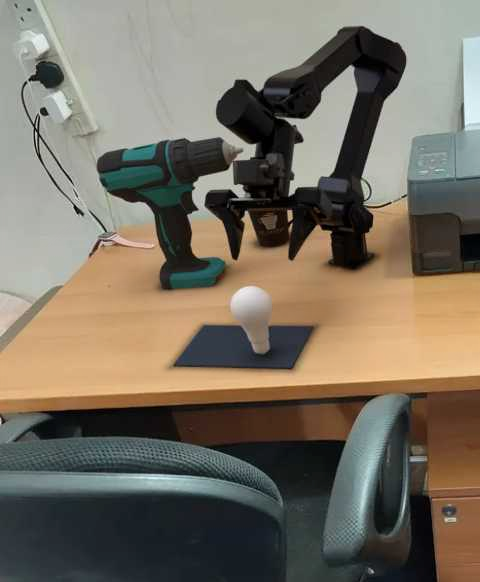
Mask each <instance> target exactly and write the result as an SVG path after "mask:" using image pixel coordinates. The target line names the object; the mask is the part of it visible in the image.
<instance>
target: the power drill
mask: <svg viewBox="0 0 480 582" xmlns="http://www.w3.org/2000/svg"><path fill="white" fill-rule="evenodd" d="M242 153H244V148H243V147H236V146H235V145H232V144H230V143H229V142H227V141H226V140H225V139H223V138H222V137H221V136H217V137H211V138H206V139H199V140H194V141H191V140H189V139H187V138H186V137H183V138H177V139H173V140H170V139H165V140H161V141H158V142H155V143H150V144H149V143H148V144H145V145H140V146H135V147H132V148H127V147H125V148H120V149H116V150H110V151H106V152H105V153H103V154H102V155H101V156H99V157H98V159H97V161H96V172H97V173H98V176H99V182H100V184H101V186H102V188H104V189H105V190H106V192H107V193H108V194H109V195H111V196H114V197H116V198H118V199H121V200H123V201H125V202H127V203H131V204H136V203H143V204H146V206H148V207H149V209H150V210H151V213H152V214H153V218H154V225H155V232H156V238H157V241H158V246H159V247H160V249H161V251H162V253H163V256H164V259H165V261H164V262H163V263H162V265H161V267H160V270H159V274H158V275H159V276H158V277H159V278H158V280H159V282H160V285H161V289H163V290H169V291H170V290H173V289H175V290H176V289H191V288H205V287H206V288H207V287H212V286H214V285H215V283H216V277H218V276H219V275H221V274H222V273H223V272H224V270H225V268H226V261H225V260H223V259H222V258H221V257H218V256H211V257H210V256H208V257H197V256H196V255H195V253H194V252H193V248H192V246H191V244H192V239H193V230H192V225H191V221H190V219H189V215H192V214H193V213H194V212H198V211H199V208H198V206H197V205H196V203H195V202H194V200H193V191H195V189H196V186H194V183H196V182H198V180H199V179H200V177H205V176H209V175H215V174H219V173H223V172H226V171H229V169H230V167H231V166H232V165H233V161H235V159H236V158H237V157H238V155H239V154H242Z"/></svg>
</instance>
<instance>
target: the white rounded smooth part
mask: <svg viewBox="0 0 480 582" xmlns="http://www.w3.org/2000/svg"><path fill="white" fill-rule="evenodd" d="M229 308H230V312H231V313H230V314H231V316H232V318H233V319H234V321H235V322H236V323H237V324H238V326H241V327H242V328H243V329H244V330H245V332H246V334H247V336H248V339H249V341H250V342H251V344H252V347H253V350H254V352H255V353H257V354H265V353H266V352H267V351H269V349H270V345H269V340H268V338H269V332H268V326H270V325H269V324H270V320H271V317H272V315H273V302H272V298H271V297H270V295H269V294H268V293H267V292H266V291H265V290H263V289H262V288H260V287H258V286H255V285H247V286H244V287H241V288H239V289H238V290H237V291H236V292H234V294H233V296H232V297H231V300H230V306H229Z"/></svg>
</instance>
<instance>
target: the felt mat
mask: <svg viewBox="0 0 480 582" xmlns="http://www.w3.org/2000/svg"><path fill="white" fill-rule="evenodd" d="M313 330H314V326H313V325H268V332H269V338H268V340H269V345H270V349H269V351H267V352H266V353H265V354H257V353H255V352H254V350H253V347H252V344H251V342H250V341H249V339H248V336H247V334H246V332H245V330H244V329H243V328H242V327H241V326H240V325H237V324H236V325H232V324H231V325H230V324H227V325H223V324H218V325H217V324H215V325H214V324H206V325H205V324H204V325H202V327H201V328H199V330H198V331H197V333H196V334H195V336H193V339H191V341H190V342H189V343H188V345H186V347H185V349H184V350H183V351H182V353H181V354H179V356H178V358H177V359H176V360H175V362H174V363H173V367H192V368H228V369H229V368H232V369H268V370H269V369H272V370H273V369H274V370H275V369H276V370H293V368H294V366H295V364H296V362H297V361H298V359H299V357H300V355H301V353H302V351H303V349H304V347H305V345H306V343H307V342H308V339H309V338H310V336H311V333H312V331H313Z"/></svg>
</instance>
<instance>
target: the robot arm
mask: <svg viewBox="0 0 480 582" xmlns="http://www.w3.org/2000/svg"><path fill="white" fill-rule="evenodd" d="M350 66H351V67H352V68H353V77H354V82H355V85H356V89H357V90H356V95H355V98H354V101H353V105H352V108H351V111H350V115H349V118H348V122H347V125H346V128H345V132H344V136H343V139H342V143H341V147H340V149H339V153H338V156H337V160H336V163H335V165H334V166H335V167H334V169H333V171H332V172H331V173H330V175H329V176H323V175H321V176H320V177H319V178H318V181H317V185H316V186H299V187H296V189H294V193H295V194H294V193H293V194H294V196H290V188H291V181H295V176H296V175H295V172H294V171H293V159H294V152H295V145H298V144H303V143H304V141H305V139H304V137H303V135H302V133H301V132H300V131H299V129H298V127H297V125H296V124H291V123H290V122H289V121H288V120H286V119H290V120H291V119H294V120H296V119H297V120H306V119H308V118H310V117H311V116H312V114H313V113H314V112H315V110H316V109H317V107H318V106H319V105H320V104H321V102H322V94H323V92H324V91H325V89H326V88H327V87H328V86H329V85H331V83H333V82H334V81H335V80H336V79H337V78H338V77H339V76H340V75H341V74H342V73H344V72H345V71H346V70H347V69H348V68H349V67H350ZM406 67H407V54H406V51H405V50H404V49H403V47H402V45H401V44H400V43H399V42H398V41H397V42H396V41H393V40H391V39H389V38H387V37H384V36H382V35H380V34H377V33H375V32H374V31H372V30H371V29H370V28H368V27H366V26H364V25H349V26H342V27H341V28H339V29H338V30H337V32H336V35H334V36H333V37H332V38H331V39H330V40H328V41H327V42H326V43H325V44H324V45H322V46H321V47H320V48H319V49H317V51H316V52H314V53H313V54H312V55H311V56H309V58H307V59H306V60H305V61H303V62H302V63H301V64H299V65H298V66H295V67H291V68H288V69H284V70H281V71H279V72H277V73H275V74H273V75H271V76H269V77H268V78H267V79H266V80H265V82H264V84H263V86H262V88H261V89H259V90H257V89H256V88H255V87H254V85H253V84H252V83H251V82H250V81H249V80H248V79H245V78H244V79H243V78H241V79H240V78H239V79H238V78H236V79H235V80H234V83H233V86H232V87H230V88H229V89H227V90H226V91H225V92H224V93H223V94H222V96H221V98H220V99H219V100H218V101H217V103H216V107H215V117H216V119H217V122H218V123H219V124H221V125H222V126H223V127H224V128H226V129H227V130H228V131H230V132H231V133H232V134H233V135H235V136H236V137H238V139H240V140H242V142H243V143H245V144H247V145H255V151H254V156H250V158H249V159H237V160H235V159H234V160H233V162H232V178H233V186H238V185H239V186H240V185H241V186H242V190H243V192H244V193H245V192H246V193H250V197H249V198H243V197H239V196H238V195H237V194H236V193H235V192H234V191H233V190H232V189H231V188H227V189H225V188H224V189H210V190H209V191H208V192H207V193H206V194H205V197H204V198H205V199H204V205H203V207H204V208H205V209H207V210H208V211H209V212H210V213H212V215H214V216H215V217H216V218H217V219H219V220H220V221H221V222H222V224H223V227H224V230H225V233H226V238H227V242H228V247H229V251H230V256H231V259H232V260H234V261H238V260H239V257H240V253H241V249H242V243H243V238H244V232H245V227H246V223H245V221H244V220H243V218H244V217H245V215H246V212H248V211H276V210H287V211H291V216H292V219H293V223H292V224H291V231H290V235H289V241H288V242H289V243H288V252H287V258H288V260H289V261H291V262H292V261H294V260H295V258H296V257H297V255H298V254H299V252H300V251H301V249H302V247H303V246H304V243H305V242H306V241H307V239H308V238H309V237H310V236H311V234H312V233H313V231H314V230H315V229H316V227H317V226H319V228H320V229H321V231H324V232H325V231H327V232H331V233H329V234H330V248H331V254H332V258H331V259H329V260H328V261H327V264H328V265H331V266H336V267H340V268H344V269H349V270H357V269H358V268H359V267H362V265H364V264H365V263H367V262H368V261H369V260H371V259H372V258H374V257H375V253H374V252H370V251H368V245H367V238H366V237H367V236H366V234H369V233H370V232H371V231H370V229H372V228H373V227H374V217H375V216H374V214H373V212H371V211H370V210H368V209H367V208H366V207H365V206H364V203H365V194H364V190H363V185H362V178H363V174H364V171H365V167H366V164H367V161H368V158H369V155H370V150H371V147H372V143H373V140H374V137H375V134H376V130H377V127H378V123H379V120H380V117H381V114H382V110H383V107H384V103H385V101H386V100H387V99H388V98H389V97H390V96H391V95H392V94H393V93H394V91H395V90H397V89H398V87H399V85H400V82H401V80H402V78H403V76H404V73H405V70H406Z"/></svg>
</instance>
